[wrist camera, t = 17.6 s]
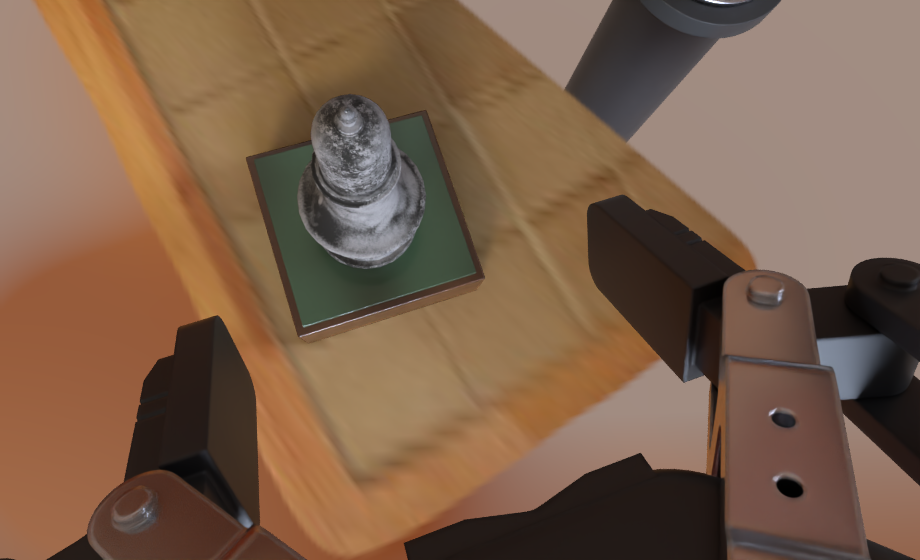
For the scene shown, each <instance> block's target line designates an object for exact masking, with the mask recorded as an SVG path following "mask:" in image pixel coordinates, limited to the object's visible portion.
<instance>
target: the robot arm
mask: <svg viewBox="0 0 920 560" xmlns="http://www.w3.org/2000/svg"><path fill="white" fill-rule="evenodd" d="M692 1H695V2H697V3H700V4H703V5H706V6H711V7H718V8H731V7H737V6H742V5H745V4H747V3H750V2H752V1H753V0H692ZM587 227H588V259H589V269H590V273H591V276H592V278H593V281H594V283H595V284H596V286H597V288H598V289H599V290H600V291H601V292H602V293H603V295H604V296H605V297H606V298H607V299H608V300H609V301H610V302H611V303H612V304H613V306H614V307H615V308H616V309H617V310H618V311H619V312H620V313H621V314H622V315H623V317H624V318H625V319H626V320H627V321H628V322H629V323H630V324H631V325H632V326H633V328H634V329H635V330H636V331H637V332H638V333H639V334H640V335H641V336H642V337H643V339H644V340H645V341H646V342H647V343H648V344H649V345H650V346H651V347H652V348H653V350H654V351H655V352H656V353H657V354H658V355H659V356H660V357H661V358H662V359H663V361H664V362H665V363H666V364H667V365H668V366H669V367H670V368H671V369H672V370H673V371H674V373H675V374H676V375H677V376H678V377H679V378H680V379H681V380H682V381H683V382H684V383H685V382H687V381H690V380H693V379H695V378H698V377H701V376H704V375H705V376H706V377H707V378H708V379H709V380H710V381H711V384H710V391H709V414H708V415H709V416H708V442H707V469H706V474H705V473H700V472H695V471H689V470H679V469H678V470H677V469H657V470H652V468H651V467H650V465H649V464H648V463H647V461H646V460H645V458H644V457H643V455H642V454H641V453H639V454H636V455H634V456H631V457H628V458H626V459H623V460H621V461H618V462H616V463H613V464H611V465H607V466H605V467H602V468H600V469H597V470H594V471H592V472H589V473H586V474H584V475H583V476H582V477H580V478H579V479H578V480H576V481H575V482H573V483H572V484H571V485H569V486H568V487H566V488H565V489H564V490H562V491H561V492H559V493H558V494H556V495H555V496H554V497H552V498H551V499H549V500H548V501H547V502H545V503H544V504H542V505H541V506H539V507H538V508H536V509H534V510H531V511H527V512H521V513H513V514H505V515H497V516H489V517H482V518H474V519H467V520H463V521H460V522H458V523H455V524H452V525H450V526H447V527H444V528H442V529H439V530H437V531H434V532H431V533H429V534H426V535H424V536H421V537H418V538H416V539H413V540H410V541H408V542H405V543H404V546H405V550H406V553H407V558H408V560H915V559H913V558H910V557H908V556H906V555H903V554H901V553H899V552H896V551H894V550H891V549H889V548H887V547H884V546H882V545H880V544H877V543H875V542H872V541H870V540H868V539H866V535H865V530H864V524H863V519H862V514H861V509H860V503H859V498H858V493H857V487H856V481H855V476H854V471H853V465H852V460H851V455H850V449H849V444H848V439H847V433H846V428H845V423H844V417H843V414H844V415H845V416H846V417H847V418H848V419H849V420H851V421H852V422H853V423H854V424H855V425H856V426H857V427H858V428H859V429H860V430H861V431H862V432H863V433H864V434H865V435H866V436H868V437H869V438H870V439H871V440H872V441H873V442H874V443H875V444H876V445H877V446H878V447H879V448H880V449H881V450H882V451H883V452H884V453H885V454H887V455H888V456H889V457H890V458H891V459H892V460H893V461H894V462H895V463H896V464H897V465H898V466H899V467H900V468H901V469H902V470H903V471H905V472H906V473H907V474H908V475H909V476H910V477H911V478H912V479H913V480H914V481H915V482H916V483H917V484H918V485H920V380H919V379H918V378H916V377H915V376H914V372H915V370H916V367H917V365H918V363H919V362H920V264H918V263H915V262H911V261H907V260H903V259H896V258H874V259H869V260H865V261H863V262H860V263H859V264H857V265H856V266H855V267H854V268H853V270H852V272H851V276H850V279H849V282H848V285H845V286H833V287H822V288H811V289H806V288H805V287H804V286H803V284H801V283H800V282H799V281H797V280H796V279H794V278H792V277H790V276H788V275H785V274H782V273H779V272H775V271H769V270H748V271H745V270H744V269H743V268H741V267H740V266H739V265H737V264H736V263H734V262H733V261H732V260H730V259H729V258H728V257H726V256H725V255H724V254H722V253H721V252H720V251H718V250H717V249H716V248H714V247H713V246H712V245H710V244H709V243H708V242H706V241H705V240H704V241H702V239H701V237H700V236H698V235H697V234H695V233H694V232H693V231H689V228H687V227H686V226H685V225H683V224H682V223H681V222H679V221H678V220H677V219H675V218H674V217H672V216H669V215H667V214H664V213H661V212H658V211H655V210H652V209H649V210H646V211H645V210H644V209H642V208H641V207H640V206H638V205H637V204H636V203H635V202H633V201H632V200H631V199H629V198H628V197H627V196H625V195H619V196H616V197H612V198H609V199H606V200H602V201H599V202H596V203H593V204H590V205H589V207H588V211H587ZM140 403H141V405H139V408H138V413H137V422H136V423H135V428H134V433H133V438H132V443H131V448H130V453H129V458H128V463H127V468H126V473H125V478H124V482H123V483H122V484H120V485H119V486H118V487H116V488H115V489H114V490H113V491H111V492H110V493H109V494H108V495H107V496H106V497H105V498H104V499H103V500H102V501H101V503H100V504H99V505H98V507H97V508H96V509H95V511H94V513H93V515H92V517H91V519H90V521H89V524H88V529H87V534H86V535H85V536H84V537H82V538H81V539H79V540H78V541H76V542H75V543H73V544H71V545H70V546H68V547H67V548H65V549H63V550H62V551H60V552H58V553H57V554H55V555H53V556H52V557H50V558H48V559H47V560H306V559H305V558H304V557H302V556H301V555H300V554H298V553H297V552H296V551H294V550H293V549H292V548H290V547H288V545H286V544H285V543H284V542H282V541H281V540H279V539H278V538H277V537H275V536H274V535H273V534H271V533H270V532H269V531H267V530H266V529H264V528H262V527H261V526H260V512H259V483H258V482H259V481H258V449H257V417H256V396H255V390H254V386H253V383H252V380H251V377H250V374H249V372H248V370H247V367H246V366H245V364H244V362H243V360H242V358H241V356H240V354H239V352H238V350H237V348H236V346H235V344H234V342H233V340H232V338H231V336H230V334H229V332H228V330H227V328H226V326H225V324H224V322H223V321H222V319H221V318H220V317H219V316H213V317H210V318H207V319H203V320H200V321H197V322H194V323H191V324H187V325H184V326H180V327H179V328H178V330H177V336H176V343H175V350H174V355H171V356H168V357H165V358H162V359H159V360H158V361H157V362H156V364H155V365H154V367H153V368H152V370H151V371H150V373H149V374H148V375H147V377H146V378H145V380H144V382H143V387H142V393H141V397H140ZM0 560H14V559H8V558H6V559H0Z"/></svg>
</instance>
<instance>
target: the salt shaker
mask: <svg viewBox="0 0 920 560" xmlns="http://www.w3.org/2000/svg"><path fill="white" fill-rule="evenodd" d="M311 141H312V146H313V149H314V151H313V153H312V159H311V161H310V162H309V164H308V165H307V166H306V168H305V170H304V172H303V174H302V176H301V179H300V181H299V187H298V194H297V201H298V208H299V214H300V216H301V219H302V221H303V223H304V225H305V228H306V229H307V231H308V232H309V233H310V234H311V235H312V237H313V238H314V239H315V240H316V241H317V242H318V243H319V244H321V245H322V246H323V247H324V248H325V250H326V251H327V252H328V253H329V255H331V256H332V257H333V258H335V259H336V260H338V261H339V262H340V263H343V264H345V265H348V266H351V267H353V268H363V269H370V268H377V267H382V266H384V265H386V264H389V263H391V262H393V261H394V260H396V259H397V258H398V257H400V256H401V255H402V254H403V253H404V252H405V251H406V249H407V248H408V247H409V245H410V244H411V243H412V240H413V238H414V235H415V232H416V230H417V228H418V227H419V225H420V222H421V219H422V217H423V214H424V211H425V201H426V193H425V187H424V181H423V179H422V176H421V174H420V172H419V170H418V168H417V166H416V165H415V164H414V162H413V161H412V160H411V159H410V158H409V157H408V155H407V154H406V153H404V152H403V151H401V150H400V149H398V148H397V146H396V144H395V142H394V141H393V140H392V138H391V131H390V125H389V122H388V120H387V118H386V116H385V114H384V112H383V111H382V110H381V108H380V107H379V106H378V105H377V104H376V103H374V102H373V101H372V100H370V99H368V98H366V97H363V96H360V95H353V94H348V95H340V96H338V97H335V98H332V99H330V100H329V101H327V102H326V103H325V104H323V105H322V106H321V108H320V109H319V110H318V111H317V113H316V115H315V117H314V119H313V122H312V128H311Z"/></svg>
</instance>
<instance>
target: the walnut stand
mask: <svg viewBox="0 0 920 560" xmlns="http://www.w3.org/2000/svg"><path fill="white" fill-rule="evenodd" d="M388 122H389V125H390V131H391V138H392V140H393V141H394V142H395V144H396V146H397V148H398V149H400V150H401V151H403V152H404V153H406V154H407V155H408V157H409V158H410V159H411V160H412V161H413V162H414V164H415V165H416V166H417V168H418V170H419V172H420V174H421V176H422V179H423V181H424V187H425V193H426V201H425V211H424V214H423V217H422V219H421V222H420V225H419V227H418V228H417V230H416V232H415V235H414V238H413V240H412V243H411V244H410V245H409V247H408V248H407V249H406V251H405V252H404V253H403V254H402V255H401V256H400V257H398V258H397V259H396V260H394V261H393V262H391V263H389V264H386V265H384V266H382V267H377V268H370V269H363V268H353V267H351V266H348V265H345V264H343V263H340V262H339V261H338V260H336V259H335V258H333V257H332V256H331V255H329V253H328V252H327V251H326V250H325V248H324V247H323V246H322V245H321V244H319V243H318V242H317V241H316V240H315V239H314V238H313V237H312V235H311V234H310V233H309V232H308V231H307V229H306V228H305V225H304V223H303V221H302V219H301V216H300V214H299V208H298V201H297V194H298V187H299V181H300V179H301V176H302V174H303V172H304V170H305V168H306V166H307V165H308V164H309V162H310V161H311V159H312V153H313V151H314V149H313V146H312V141H311V140H310V141H306V142H302V143H298V144H295V145H291V146H287V147H283V148H279V149H276V150H272V151H268V152H264V153H260V154H257V155H253V156H249V157H246V161H247V164H248V168H249V171H250V174H251V178H252V181H253V185H254V188H255V191H256V195H257V198H258V202H259V205H260V208H261V212H262V215H263V219H264V222H265V226H266V229H267V232H268V236H269V239H270V243H271V246H272V249H273V253H274V256H275V260H276V263H277V267H278V270H279V273H280V277H281V280H282V284H283V287H284V290H285V294H286V297H287V301H288V304H289V307H290V311H291V314H292V318H293V321H294V325H295V328H296V331H297V335H298V337H299V338H301V339H302V340H304V341H306V342H307V343H312V342H315V341H318V340H321V339H325V338H328V337H331V336H334V335H337V334H340V333H343V332H347V331H350V330H353V329H356V328H359V327H362V326H365V325H368V324H372V323H375V322H378V321H381V320H384V319H387V318H390V317H394V316H397V315H400V314H403V313H406V312H409V311H412V310H415V309H419V308H422V307H425V306H428V305H431V304H434V303H437V302H441V301H444V300H447V299H450V298H453V297H456V296H459V295H462V294H466V293H469V292H472V291H475V290H477V288H478V287H479V286H480V284H481V283H482V282H483V280H484V279H485V276H484V273H483V271H482V268H481V265H480V262H479V259H478V256H477V253H476V251H475V248H474V245H473V242H472V239H471V236H470V233H469V231H468V228H467V225H466V222H465V219H464V216H463V213H462V211H461V208H460V205H459V202H458V199H457V196H456V193H455V191H454V188H453V185H452V182H451V179H450V176H449V173H448V171H447V168H446V165H445V162H444V159H443V156H442V153H441V151H440V148H439V145H438V142H437V139H436V136H435V133H434V131H433V128H432V125H431V122H430V119H429V116H428V113H427V111H426V110H423V111H420V112H416V113H412V114H408V115H404V116H401V117H397V118H393V119H389V120H388Z"/></svg>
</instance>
